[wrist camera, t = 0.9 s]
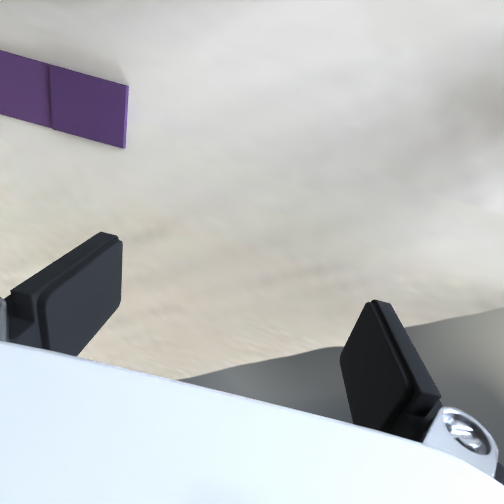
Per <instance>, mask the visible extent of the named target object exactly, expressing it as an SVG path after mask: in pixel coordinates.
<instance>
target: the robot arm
mask: <svg viewBox="0 0 504 504" xmlns="http://www.w3.org/2000/svg"><path fill="white" fill-rule="evenodd" d="M122 248H123V244H122V241H120V240H119V239H118V236H116V235H112V234H108V233H104V232H99V233H98V234H96V235H95V236H93V237H91V238H90V239H88V240H87V241H85V242H84V243H82V244H81V245H79V246H78V247H76V248H75V249H73V250H72V251H70V252H69V253H67V254H65V255H64V256H62V257H61V258H59V259H58V260H56V261H55V262H53V263H52V264H50V265H49V266H47V267H46V268H44V269H43V270H41V271H39V272H38V273H36V274H35V275H33V276H32V277H30V278H29V279H27V280H26V281H24V282H23V283H21V284H20V285H18V286H17V287H15V288H13V289H12V290H10V291H11V295H9V296H8V297H6V298H5V299H2V298H1V297H0V504H504V467H503V466H502V465H501V464H500V463H498V462H497V460H498V448H497V445H496V443H495V441H494V439H493V438H492V437H491V435H490V434H489V432H488V431H487V430H486V429H485V428H484V427H483V426H482V425H481V424H480V423H479V422H478V421H476V420H475V419H474V418H473V417H471V416H470V415H468V414H466V413H465V412H463V411H461V410H458V409H456V408H453V407H443V406H442V404H441V402H440V400H439V399H440V398H441V394H440V393H439V391H438V389H437V387H436V385H435V383H434V382H433V380H432V378H431V376H430V374H429V373H428V371H427V369H426V367H425V365H424V364H423V362H422V360H421V358H420V356H419V354H418V353H417V351H416V349H415V347H414V345H413V344H412V342H411V340H410V338H409V336H408V335H407V333H406V331H405V329H404V327H403V325H402V324H401V322H400V320H399V318H398V316H397V315H396V313H395V311H394V309H393V307H392V306H391V304H390V303H386V302H382V301H378V300H372V301H371V302H367V303H366V304H365V306H364V308H363V310H362V312H361V314H360V316H359V318H358V320H357V322H356V324H355V326H354V328H353V330H352V332H351V334H350V336H349V338H348V340H347V342H346V344H345V347H344V349H343V351H342V353H341V356H340V366H341V370H342V375H343V379H344V384H345V388H346V393H347V397H348V402H349V406H350V411H351V415H352V420H353V424H350V423H346V422H343V421H339V420H335V419H331V418H327V417H323V416H318V415H315V414H311V413H307V412H302V411H298V410H294V409H291V408H286V407H283V406H279V405H275V404H270V403H267V402H262V401H259V400H255V399H250V398H246V397H242V396H238V395H234V394H229V393H226V392H222V391H218V390H214V389H209V388H205V387H201V386H197V385H193V384H189V383H185V382H181V381H177V380H173V379H168V378H164V377H160V376H156V375H152V374H147V373H143V372H139V371H135V370H131V369H126V368H122V367H118V366H114V365H110V364H105V363H101V362H97V361H93V360H89V359H84V358H80V357H77V356H78V354H79V353H80V352H81V351H82V350H83V348H84V347H85V346H86V345H87V344H88V343H89V341H90V340H91V339H92V338H93V337H94V335H95V334H96V333H97V332H98V331H99V330H100V328H101V327H102V326H103V325H104V324H105V322H106V321H107V320H108V319H109V318H110V317H111V315H112V314H113V313H114V312H115V311H116V309H117V308H118V307H119V304H120V301H121V281H122Z"/></svg>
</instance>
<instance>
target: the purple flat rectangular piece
mask: <svg viewBox="0 0 504 504" xmlns="http://www.w3.org/2000/svg"><path fill="white" fill-rule="evenodd" d="M128 91H129V86H125V85H122V84H118V83H115V82H111V81H108V80H104V79H100V78H97V77H93V76H90V75H86V74H83V73H79V72H75V71H72V70H68V69H65V68H61V67H58V66H54V65H50V64H47V63H43V62H40V61H36V60H33V59H29V58H26V57H22V56H18V55H15V54H11V53H8V52H4V51H1V50H0V114H2V115H6V116H9V117H13V118H16V119H20V120H24V121H27V122H31V123H35V124H38V125H42V126H45V127H49V128H52V129H54V130H58V131H62V132H65V133H69V134H72V135H76V136H80V137H83V138H87V139H91V140H94V141H98V142H102V143H105V144H109V145H112V146H116V147H120V148H125V143H126V126H127V109H128Z"/></svg>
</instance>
